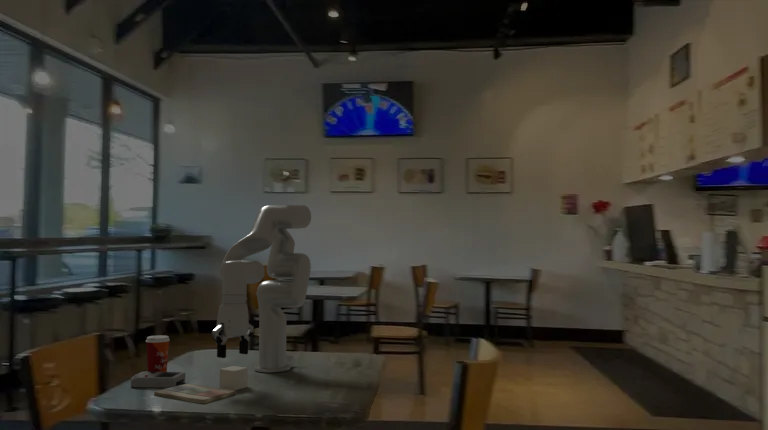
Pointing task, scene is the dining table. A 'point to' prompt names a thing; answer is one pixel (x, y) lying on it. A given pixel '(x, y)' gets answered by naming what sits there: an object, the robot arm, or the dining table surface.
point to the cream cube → (233, 378)
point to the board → (195, 393)
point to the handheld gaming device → (157, 379)
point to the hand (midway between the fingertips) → (232, 355)
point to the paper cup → (157, 353)
